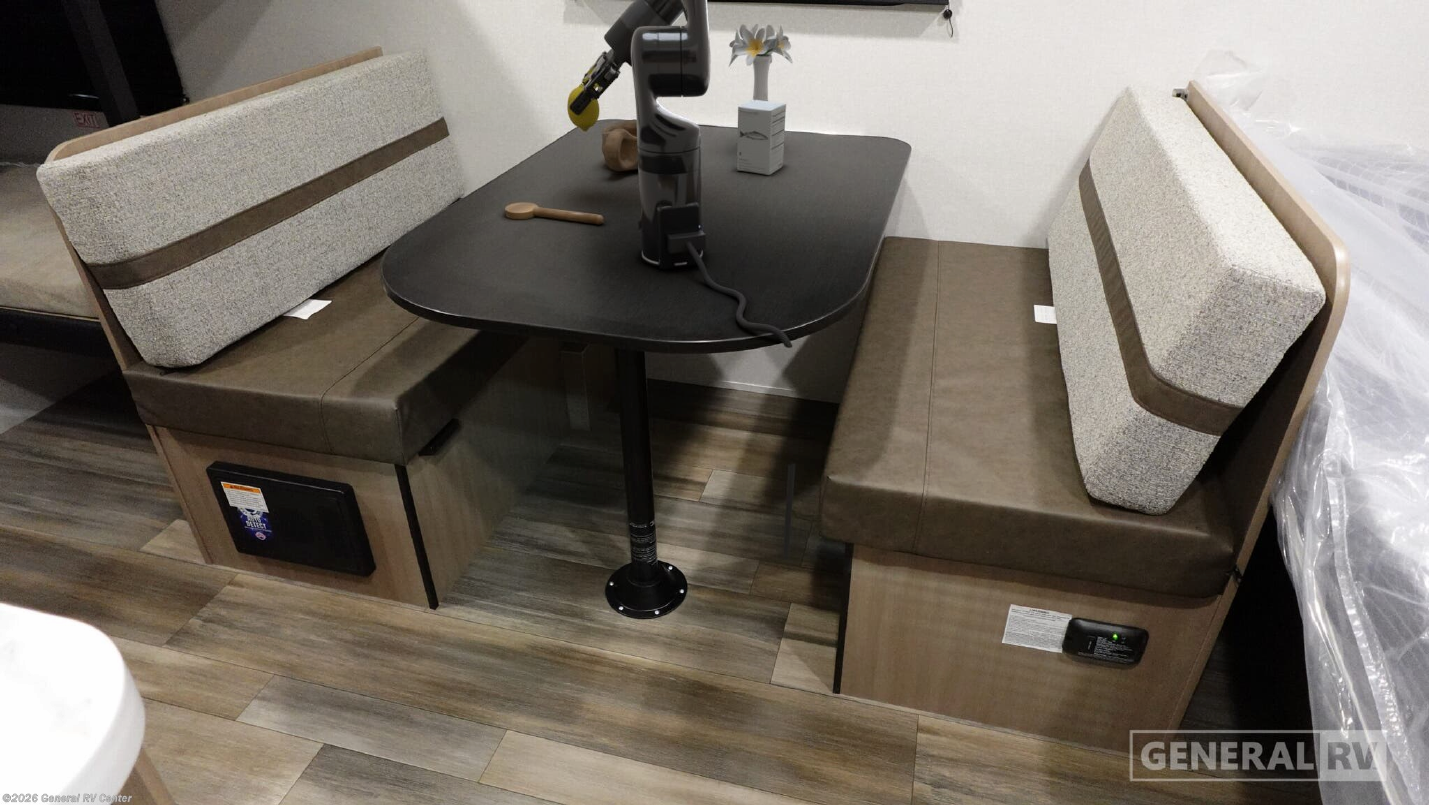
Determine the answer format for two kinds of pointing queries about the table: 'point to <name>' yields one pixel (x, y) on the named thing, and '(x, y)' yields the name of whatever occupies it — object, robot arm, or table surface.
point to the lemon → (587, 115)
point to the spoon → (549, 213)
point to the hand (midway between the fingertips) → (573, 107)
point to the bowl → (621, 145)
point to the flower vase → (760, 53)
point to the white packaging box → (760, 136)
